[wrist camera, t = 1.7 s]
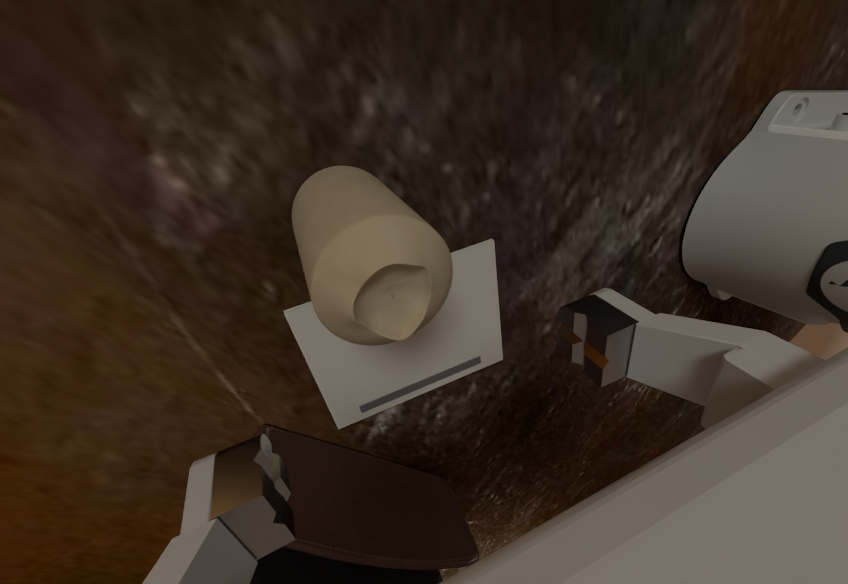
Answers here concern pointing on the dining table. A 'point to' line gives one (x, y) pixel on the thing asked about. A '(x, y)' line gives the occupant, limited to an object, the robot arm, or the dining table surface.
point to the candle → (368, 258)
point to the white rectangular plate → (408, 345)
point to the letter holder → (363, 519)
